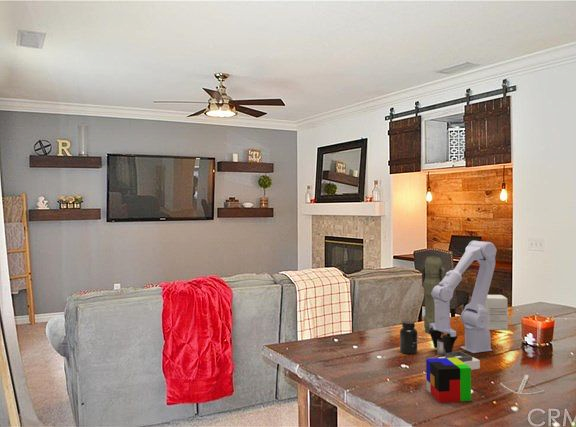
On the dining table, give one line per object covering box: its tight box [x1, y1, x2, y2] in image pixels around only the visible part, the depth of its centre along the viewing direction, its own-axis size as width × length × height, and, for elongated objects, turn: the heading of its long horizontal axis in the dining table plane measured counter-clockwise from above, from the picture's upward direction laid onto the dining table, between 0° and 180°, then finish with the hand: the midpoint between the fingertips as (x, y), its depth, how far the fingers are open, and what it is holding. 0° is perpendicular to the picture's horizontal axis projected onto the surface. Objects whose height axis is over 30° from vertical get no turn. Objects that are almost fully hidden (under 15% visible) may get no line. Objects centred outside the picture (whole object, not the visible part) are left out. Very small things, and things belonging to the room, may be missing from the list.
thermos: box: [421, 255, 447, 335], centre depth 221 cm, size 9×12×35 cm
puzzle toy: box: [425, 357, 472, 403], centre depth 148 cm, size 10×10×10 cm
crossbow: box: [499, 374, 545, 396], centre depth 154 cm, size 16×13×2 cm
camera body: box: [437, 350, 481, 371], centre depth 173 cm, size 12×8×4 cm, turn 107°
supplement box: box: [485, 294, 509, 331], centre depth 226 cm, size 9×9×15 cm
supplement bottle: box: [399, 320, 418, 355], centre depth 192 cm, size 7×7×12 cm
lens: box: [436, 336, 446, 356], centre depth 188 cm, size 4×4×6 cm
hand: (442, 350), depth 188 cm, fingers open, 7 cm apart
